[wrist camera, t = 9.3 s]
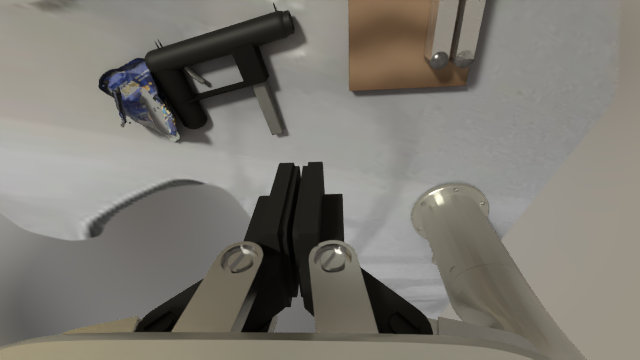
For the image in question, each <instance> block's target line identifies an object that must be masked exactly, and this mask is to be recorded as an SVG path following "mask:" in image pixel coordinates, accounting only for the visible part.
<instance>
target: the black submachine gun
mask: <svg viewBox="0 0 640 360" xmlns="http://www.w3.org/2000/svg"><path fill="white" fill-rule="evenodd" d="M273 5H274V3H273ZM274 8H275V5H274ZM276 10H277V9H276V8H275V11H276ZM293 33H295V30H294V24H293V21H292V17H291V15H290V12H289V11H288V10H287V11H284V12H283V11H276V12H273V13H269V14H266V15H263V16H260V17H257V18H253V19H250V20H247V21H244V22H241V23H238V24H234V25H231V26H228V27H225V28H222V29H219V30H215V31H212V32H209V33H206V34H203V35H200V36H196V37H193V38H190V39H187V40H184V41H180V42H177V43H174V44H171V45H168V46H165V47H163V46H162V45H161V43H160V42H159V43H160V45H161V48H159V47H158V45H157V44H156V45H157V47H158V49H155V50H152V51H150V52H148V53H147V54H146V56H145V64H146V67H147V68H148V69H149V70H150V71H151V72H153V74H154V76H155V77H156V79H157V81H158V83H159V84H160V86H161V88H162V89H163V91H164V93H165V94H166V96H167V98H168V99H169V101H170V103H171V104H172V106H173V108H174V110H175V111H176V113H177V115H178V116H179V118H180V120H181V121H182V123H183V125H184V126H185V127H187V128H189V129H197V128H200V127H202V126H204V125H205V124H206V122H207V117H206V115H205V113H204V111H203V109H202V107H201V105H200V103H199V102H198V100H200V99H204V98H207V97H211V96H215V95H218V94H222V93H226V92H229V91H233V90H237V89H241V88H244V87H248V86H252V87H253V90H254V92H255V95H256V97H257V99H258V102H259V104H260V107H261V109H262V112H263V114H264V116H265V119H266V121H267V124H268V126H269V129H270V131H271V133H272V135H275V134H279V133H283V129H284V128H283V126H282V123H281V120H280V117H279V115H278V112H277V109H276V106H275V104H274V101H273V98H272V95H271V93H270V90H269V87H268V84H267V82H266V81H267V79H268V77H269V75H268V72H267V69H266V66H265V63H264V61H263V58H262V55H261V52H260V49H259V45H262V44H266V43H269V42H273V41H276V40H279V39H283V38H286V37H287V36H288V35H289V34H293ZM158 41H159V40H158ZM155 43H156V42H155ZM229 54H233V57H234V59H235V61H236V64H237V66H238V69H239V71H240V73H241V76H242V78H243V80H244V81H243V82H239V83H236V84H232V85H229V86H225V87H221V88H218V89H214V90H210V91H207V92H203V93H200V94H196V95H195V94H194V92H193V90H192V88H191V87H190V85H189V83H188V81H187V79H186V77H185V75H184V74H183V72H182V70H181V68H185V70H186V71H187V72H188V73H189V74H190V75H191V76H192V77H193V78H194V79H195V80H197V81H198V82H200V83H201V84H203V83H204V82H205V80H204V79H202V78H201V77H199V76H198V75H197V74H195V73H194V72H193V71H192V70H191V69H190V68H189V67H188V66H192V65H195V64H198V63H202V62H205V61H208V60H212V59H215V58H219V57H222V56H225V55H229Z"/></svg>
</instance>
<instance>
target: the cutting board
mask: <svg viewBox="0 0 640 360" xmlns="http://www.w3.org/2000/svg"><path fill="white" fill-rule="evenodd" d="M431 2H432V0H349V90H350V91H358V90H380V89H401V88H422V87H443V86H465V85H466V80H467V76H468V71H469V66H468V67H467V68H459V67H457V66H456V65H455V64H453V63H452V62H450V61H449V60H448V63H447V65H446V66H445V67H444V68H442V69H440V70H436V69H434V68H432V67H431V66H430V65H429V64H428V63H427V62H426V61H425V59H424V54H425V47H426V39H427V32H428V24H429V17H430V9H431Z"/></svg>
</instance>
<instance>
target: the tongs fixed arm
mask: <svg viewBox="0 0 640 360" xmlns="http://www.w3.org/2000/svg"><path fill="white" fill-rule="evenodd" d="M485 2H486V0H459V4H458V9H457V15H456V21H455V26H454V32H453V38H452V43H451V49H450V55H449V61H450V62H452V63H453V64H455V65H456V66H457V67H459V68H467V67H468V66H470V65H471V64H472V62H473V60H474V55H475V50H476V45H477V41H478V36H479V31H480V26H481V21H482V17H483V12H484V7H485Z"/></svg>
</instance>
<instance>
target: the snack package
mask: <svg viewBox="0 0 640 360" xmlns="http://www.w3.org/2000/svg"><path fill="white" fill-rule="evenodd" d="M123 70H126V71H125V73H116V74H114V76H112V77H111V78H110V75H111V73H112V72H114V71H123ZM106 80H108V82H109V84H108V85H106V84H105V83H104V82H103V81H106ZM98 86H99V88H100V89H101V90H102V91H103V92H105V93H106V94H108V95H110V96H112V97H113V98H115V102H116V107H117V109H118V110H119V115H120V117H121V118H122V119H121V122H122V124H121V127H124V126H125V123H126V122H127V121H126V115H127V116H128V117H130V118H131V119H133V120H134V121H135V122H137V123H139V124H141V125H143V126H148V127H151V128H153V129H155V130H156V131H158V132H159V133H162V134H163V135H165V136H166V137H167V138H168V139H169V140H170V141H172V142H176V140H179V138H180V133H179V132H178V130H177V128H176V120H175V117H174V116H173V112H172V111H171V109H170V107H169V106H168V103H167V101H166V99H165V97H164V95H163V94H162V92H161V91H160V88H159V87H158V85H157V84H156V82H155V80H154V78H153V77H152V75H151V72H150V70H149V69H148V68H147V67H146V64H145V59H143V58H136V59H134V60H132V61H130V62H129V63H128V64H125V66H122V67H120V68H118V69H112V70H109V71H107V72H106V73H105V74H103V75H102V76H101V78H100V79H99V85H98ZM134 86H139V87H143V88H145V89H146V90H147V91H148V92H149V93H150V94H151V95H152V96H153V99H154V101H156V100H157V101H158V103H159V104H160V106H161V108H162V110H163V113H164V116H165V121H166V125H167V127H168V132H169V134H172V135H174V136H176V137H175V138H173V137H170V136H169V135H167V134H165V133H163V132H161V131H160V130H159V129H158V128H157V127H156V125H155V124H154V121H153V119H152V118H151V117H150V114H149V112H148V110H147V106H146V105H145V104H141V103H140V102H138V101H139V100H140V97H141V93H142V91H141V88H139V89H137V90H136V91H135V92H134V93H133V94H131V95H129V96H124V95H123V94H121V92H120V91H122V92H126V93H129V89H130V87H134ZM157 108H158V109H159V107H157ZM154 111H156V110H155V108H154ZM129 124H131V122H129Z"/></svg>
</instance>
